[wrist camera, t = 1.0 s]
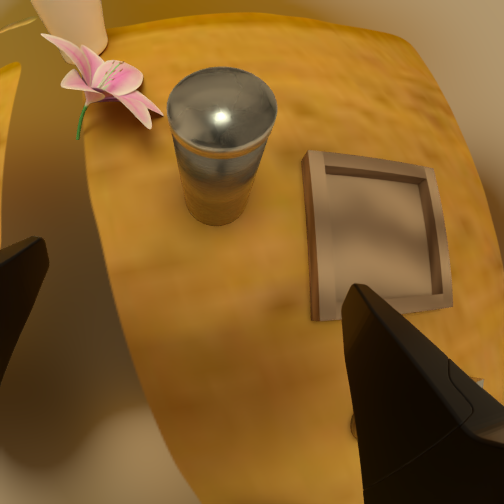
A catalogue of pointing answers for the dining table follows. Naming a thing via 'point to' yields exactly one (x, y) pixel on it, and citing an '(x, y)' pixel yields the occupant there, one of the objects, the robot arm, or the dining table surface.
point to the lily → (104, 81)
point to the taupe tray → (374, 233)
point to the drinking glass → (74, 22)
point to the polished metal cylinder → (219, 138)
